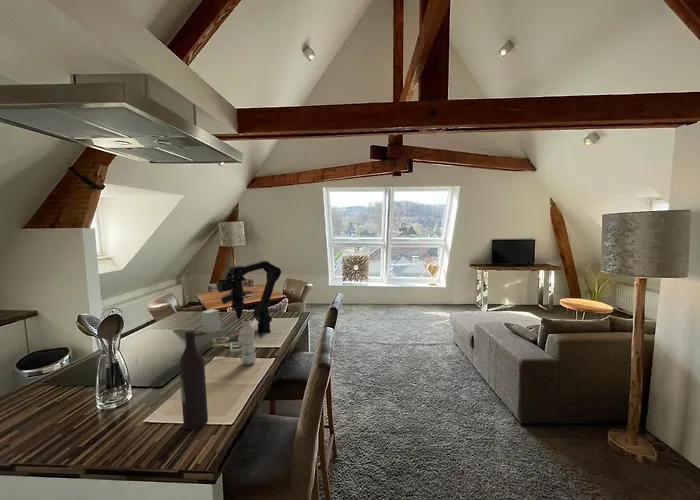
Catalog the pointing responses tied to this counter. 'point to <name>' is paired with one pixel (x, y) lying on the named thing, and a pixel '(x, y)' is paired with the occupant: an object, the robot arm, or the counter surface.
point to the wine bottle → (193, 385)
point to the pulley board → (225, 340)
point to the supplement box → (210, 321)
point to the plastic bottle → (247, 343)
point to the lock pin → (239, 341)
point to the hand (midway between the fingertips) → (238, 316)
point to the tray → (237, 349)
